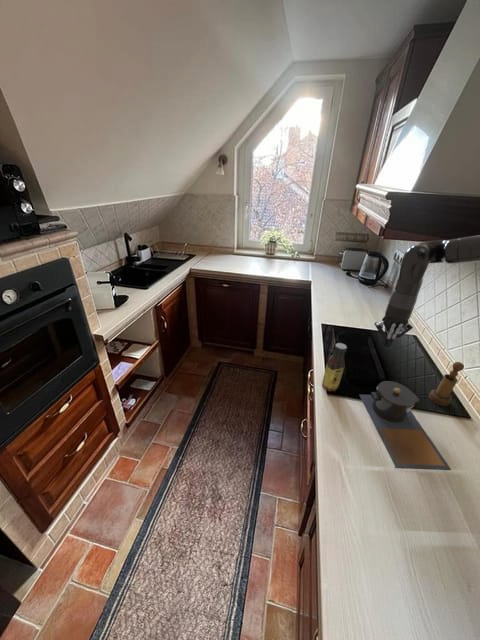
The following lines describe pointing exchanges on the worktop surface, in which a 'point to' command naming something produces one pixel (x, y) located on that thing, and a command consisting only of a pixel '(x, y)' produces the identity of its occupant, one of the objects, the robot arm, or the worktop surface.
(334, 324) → the worktop surface
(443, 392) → the wooden pepper mill
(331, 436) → the worktop surface
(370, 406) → the mat
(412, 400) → the pot
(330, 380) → the sauce bottle
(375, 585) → the worktop surface
